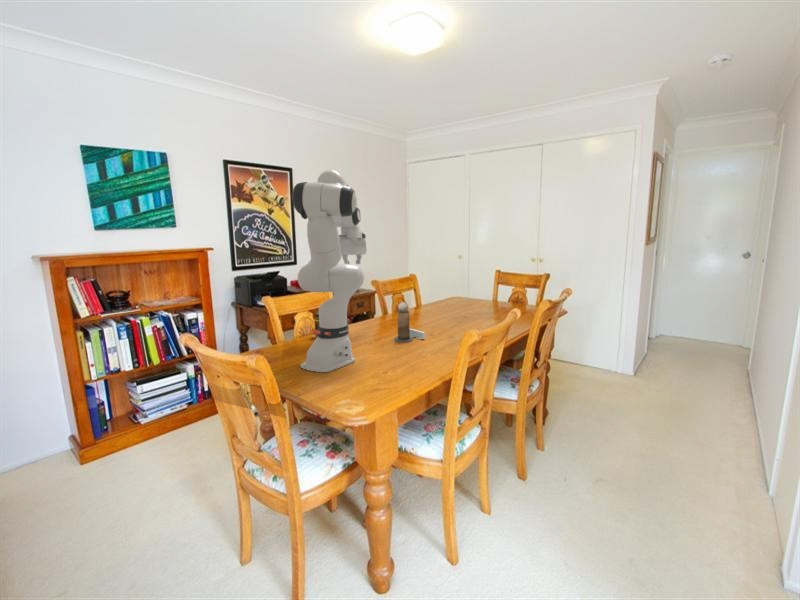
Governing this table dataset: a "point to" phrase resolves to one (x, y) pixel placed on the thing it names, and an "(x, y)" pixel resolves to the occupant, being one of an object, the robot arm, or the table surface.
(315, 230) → the robot arm
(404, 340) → the mat
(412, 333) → the acrylic wall
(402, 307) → the peg
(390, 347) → the table surface
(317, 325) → the condiment
